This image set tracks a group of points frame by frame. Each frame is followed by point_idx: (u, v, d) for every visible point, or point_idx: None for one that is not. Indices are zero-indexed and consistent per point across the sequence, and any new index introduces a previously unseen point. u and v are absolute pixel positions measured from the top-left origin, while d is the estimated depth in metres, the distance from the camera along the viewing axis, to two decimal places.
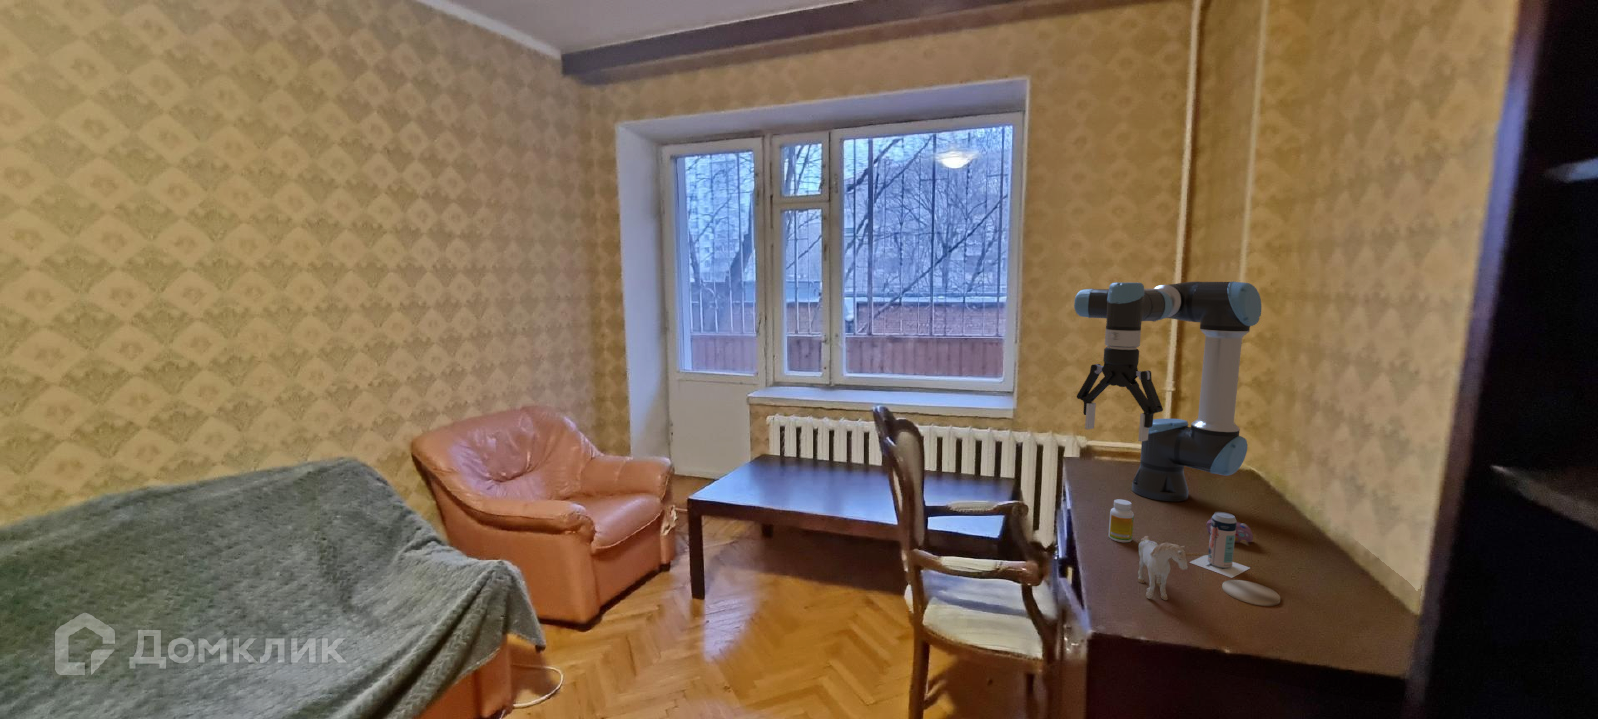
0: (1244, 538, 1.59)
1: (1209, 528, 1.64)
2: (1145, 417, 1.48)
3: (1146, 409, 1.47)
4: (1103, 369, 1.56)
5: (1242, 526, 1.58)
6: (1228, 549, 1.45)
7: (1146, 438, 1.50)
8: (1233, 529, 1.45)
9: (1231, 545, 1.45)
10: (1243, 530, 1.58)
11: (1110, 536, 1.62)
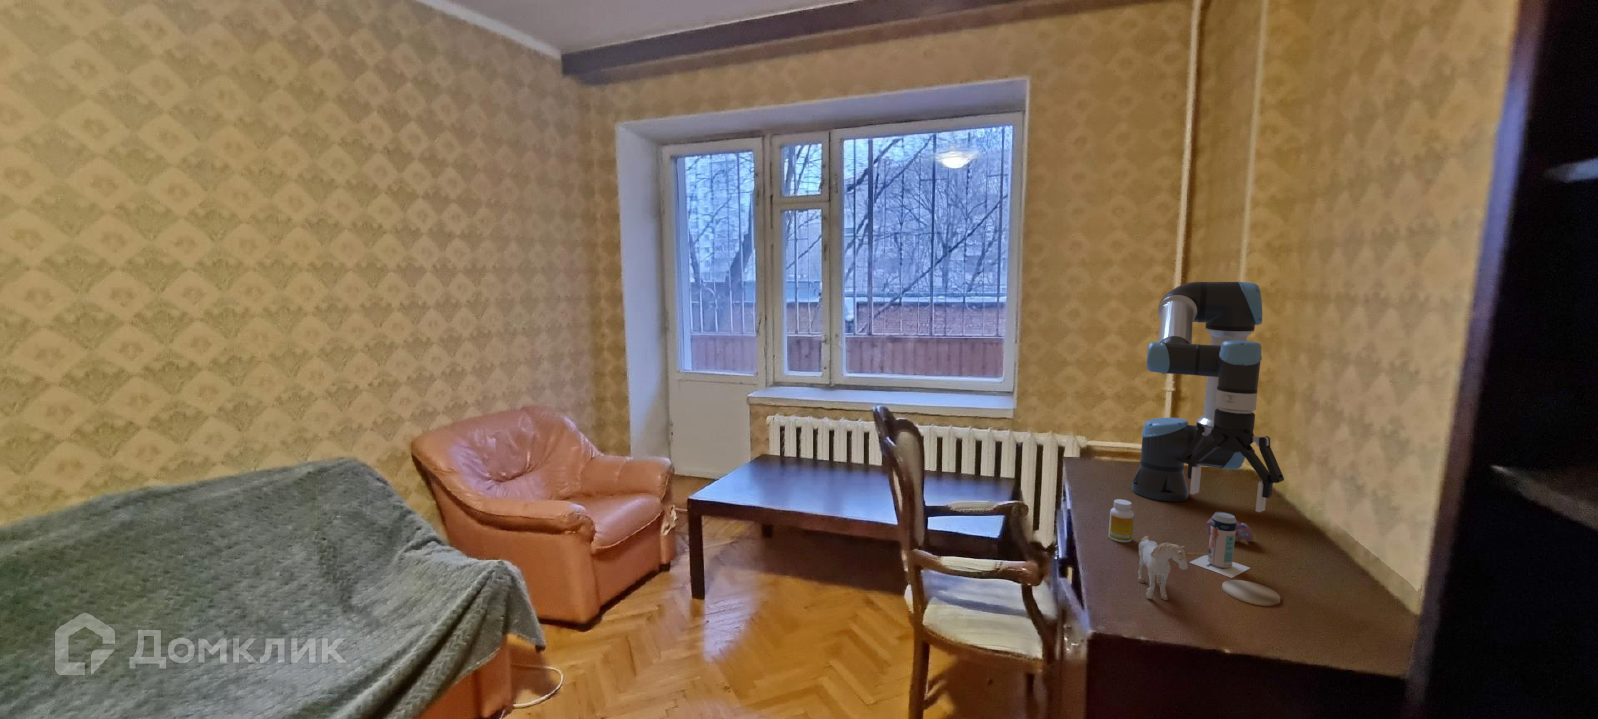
0: (1244, 538, 1.59)
1: (1209, 528, 1.64)
2: (1264, 486, 1.38)
3: (1265, 478, 1.38)
4: (1213, 432, 1.46)
5: (1242, 526, 1.59)
6: (1228, 549, 1.45)
7: (1263, 508, 1.40)
8: (1233, 529, 1.45)
9: (1231, 545, 1.45)
10: (1243, 530, 1.58)
11: (1110, 536, 1.62)
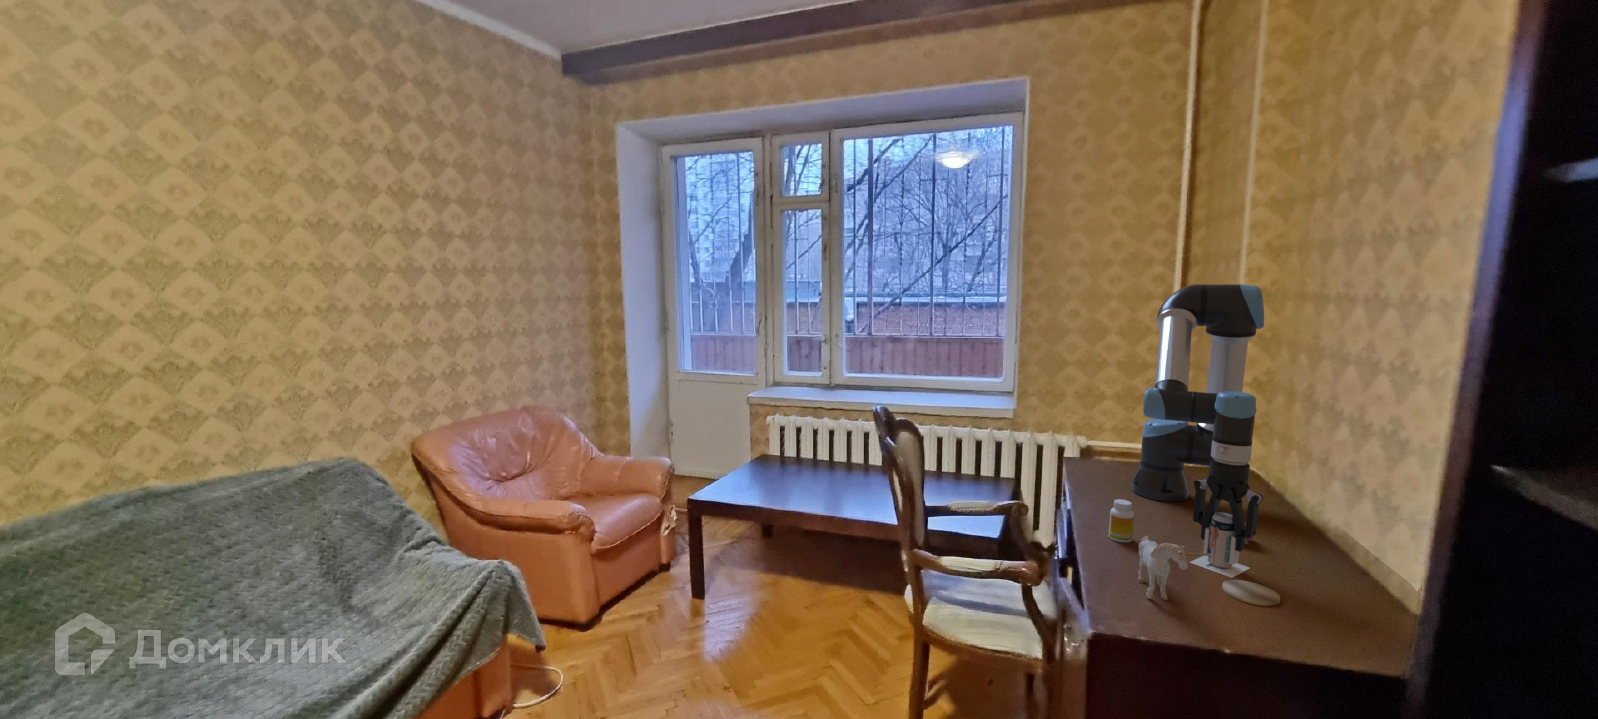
0: None
1: None
2: (1236, 540, 1.44)
3: (1239, 533, 1.43)
4: (1208, 482, 1.48)
5: None
6: (1228, 549, 1.45)
7: (1236, 560, 1.45)
8: (1233, 529, 1.45)
9: None
10: None
11: (1110, 536, 1.62)
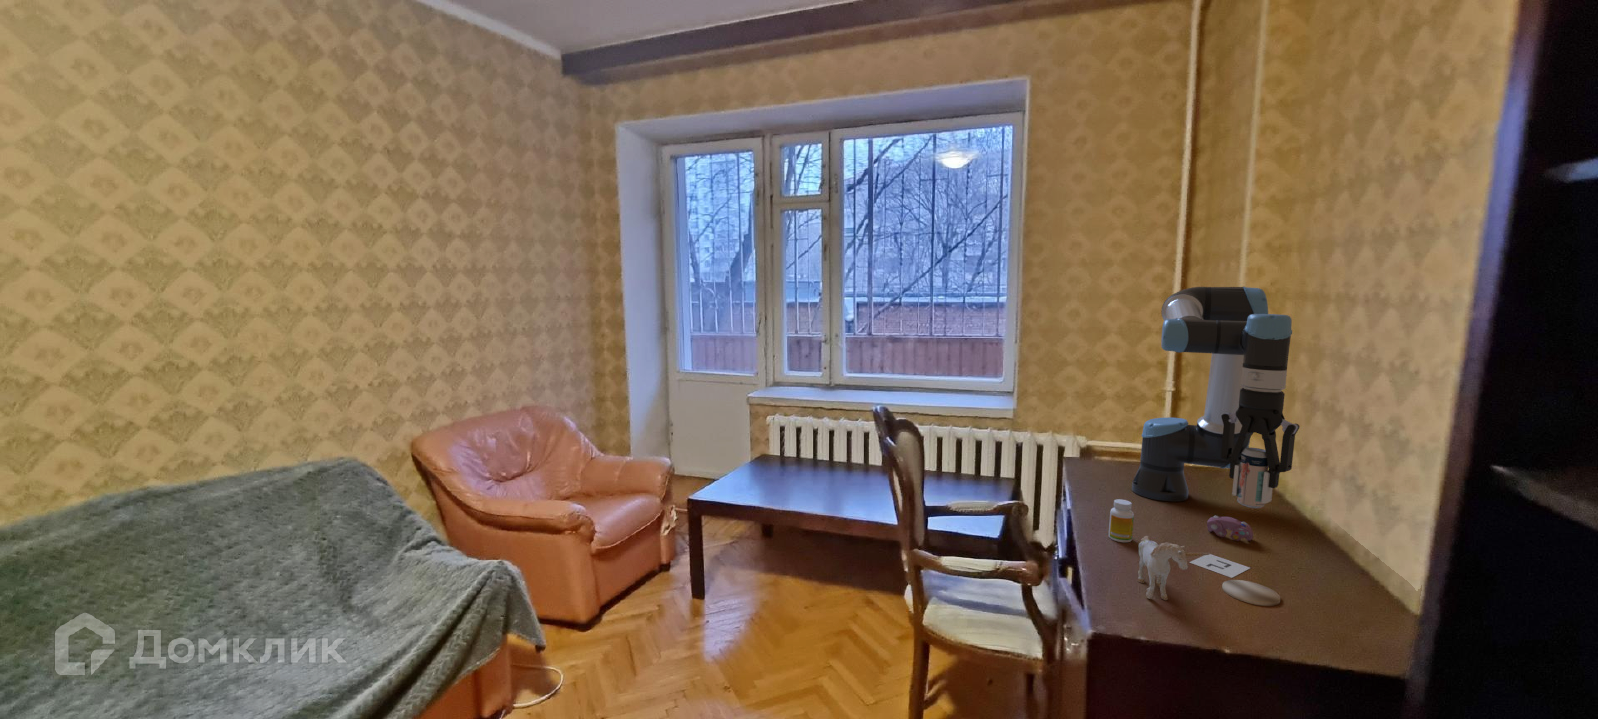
0: (1244, 536, 1.60)
1: (1210, 526, 1.65)
2: (1270, 476, 1.31)
3: (1273, 467, 1.30)
4: (1238, 414, 1.35)
5: (1242, 524, 1.59)
6: (1260, 486, 1.32)
7: (1270, 499, 1.33)
8: (1265, 465, 1.32)
9: None
10: (1244, 528, 1.59)
11: (1110, 536, 1.62)
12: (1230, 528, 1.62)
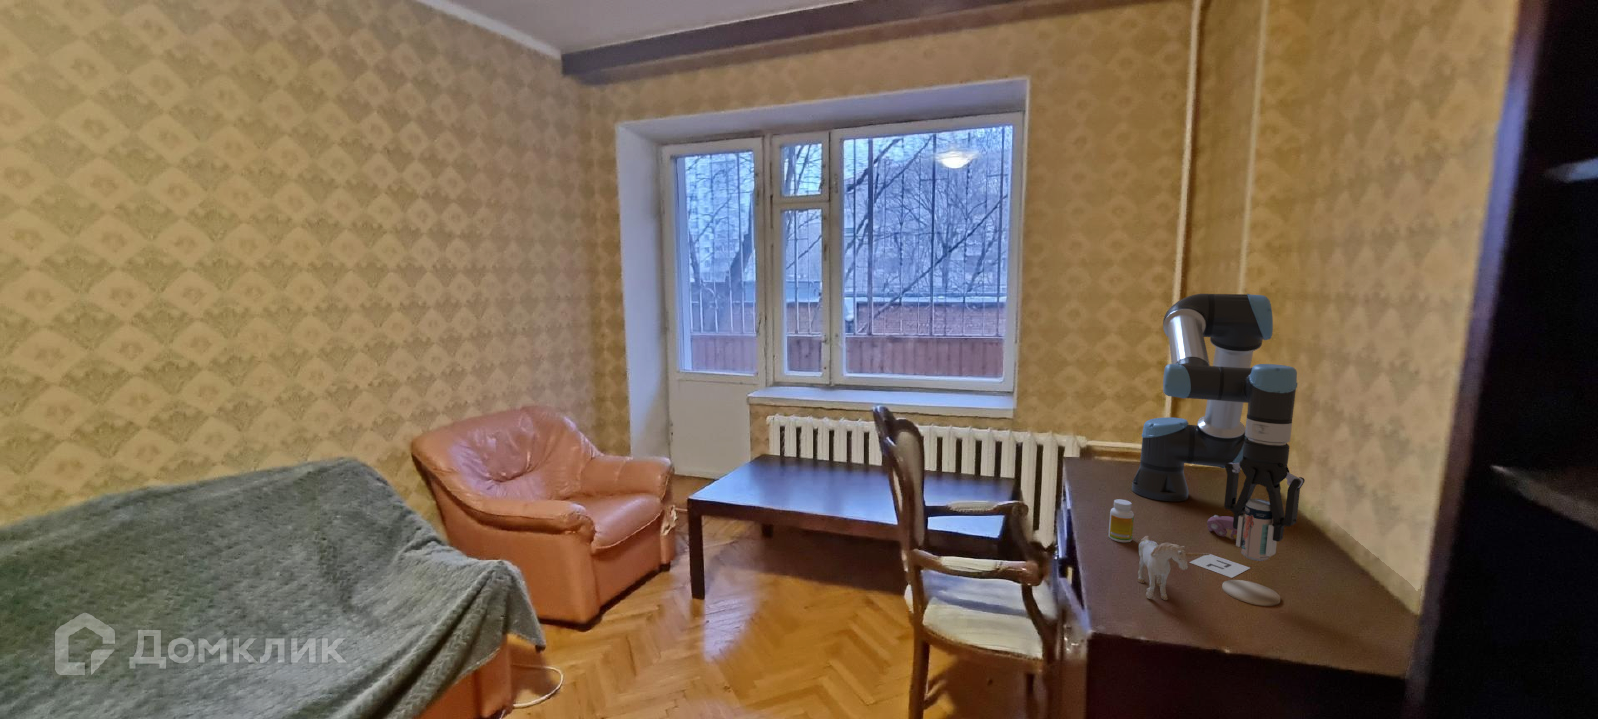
0: None
1: (1210, 526, 1.65)
2: (1274, 529, 1.30)
3: (1277, 521, 1.29)
4: (1242, 465, 1.34)
5: None
6: (1264, 539, 1.31)
7: (1274, 552, 1.31)
8: (1270, 518, 1.30)
9: None
10: None
11: (1110, 536, 1.62)
12: (1230, 527, 1.62)
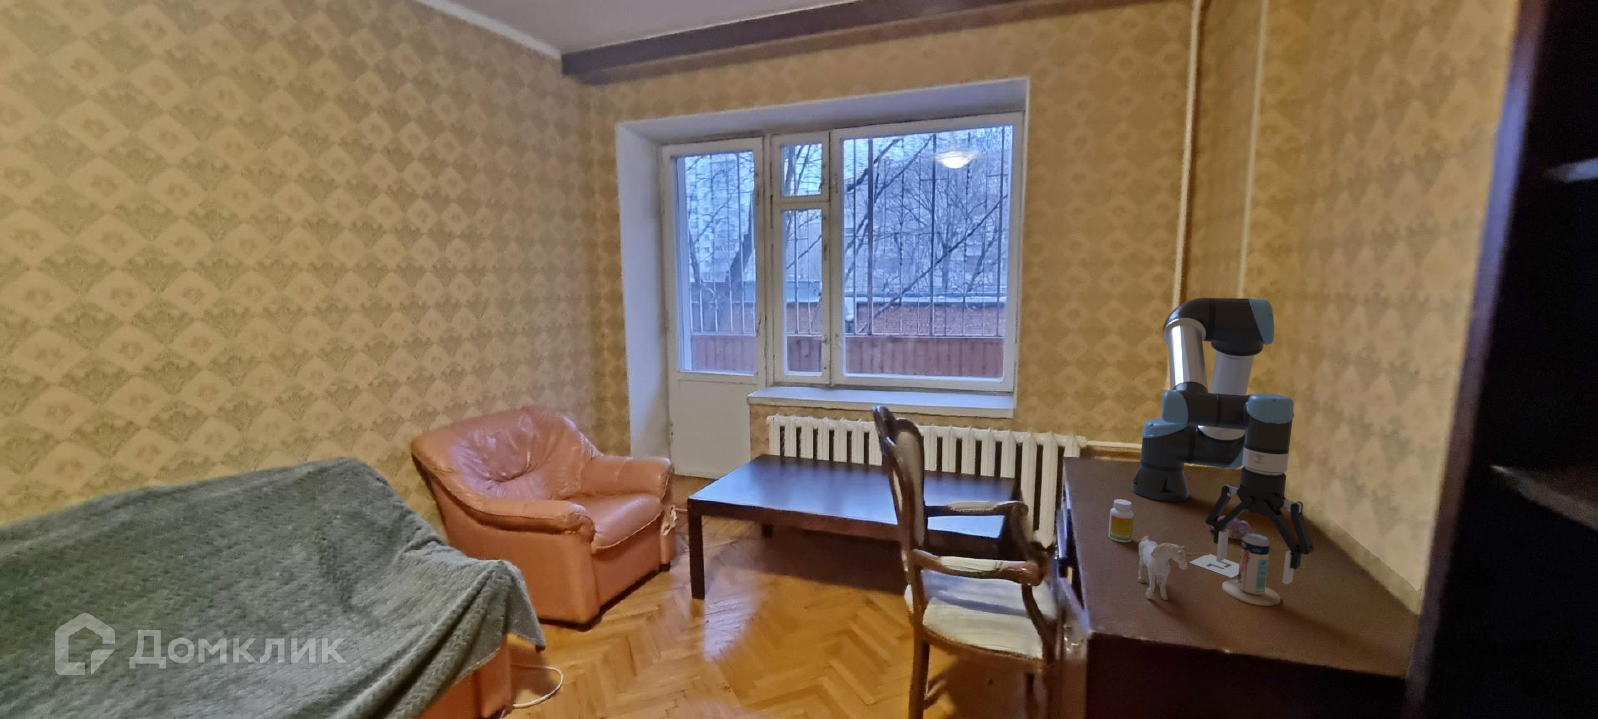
0: None
1: (1210, 525, 1.65)
2: (1292, 557, 1.27)
3: (1294, 548, 1.27)
4: (1239, 492, 1.34)
5: (1243, 523, 1.60)
6: (1260, 574, 1.32)
7: (1291, 579, 1.29)
8: (1266, 553, 1.31)
9: (1264, 570, 1.32)
10: (1244, 527, 1.60)
11: (1110, 536, 1.62)
12: (1230, 527, 1.62)
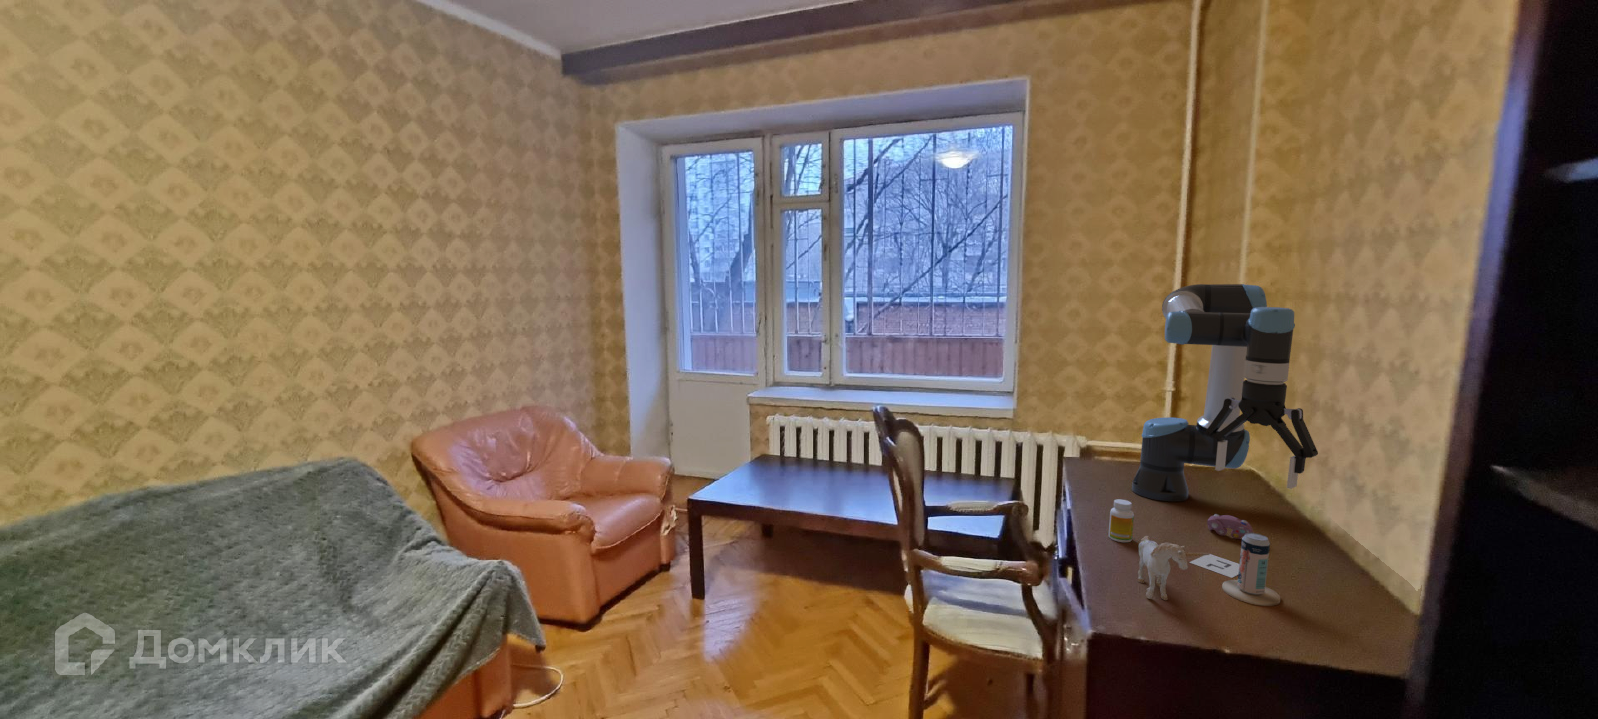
0: None
1: (1210, 525, 1.66)
2: (1296, 461, 1.31)
3: (1298, 453, 1.30)
4: (1240, 404, 1.38)
5: (1243, 523, 1.61)
6: (1260, 574, 1.32)
7: (1295, 484, 1.32)
8: (1266, 553, 1.31)
9: (1264, 570, 1.32)
10: (1244, 527, 1.60)
11: (1110, 536, 1.62)
12: (1230, 526, 1.63)
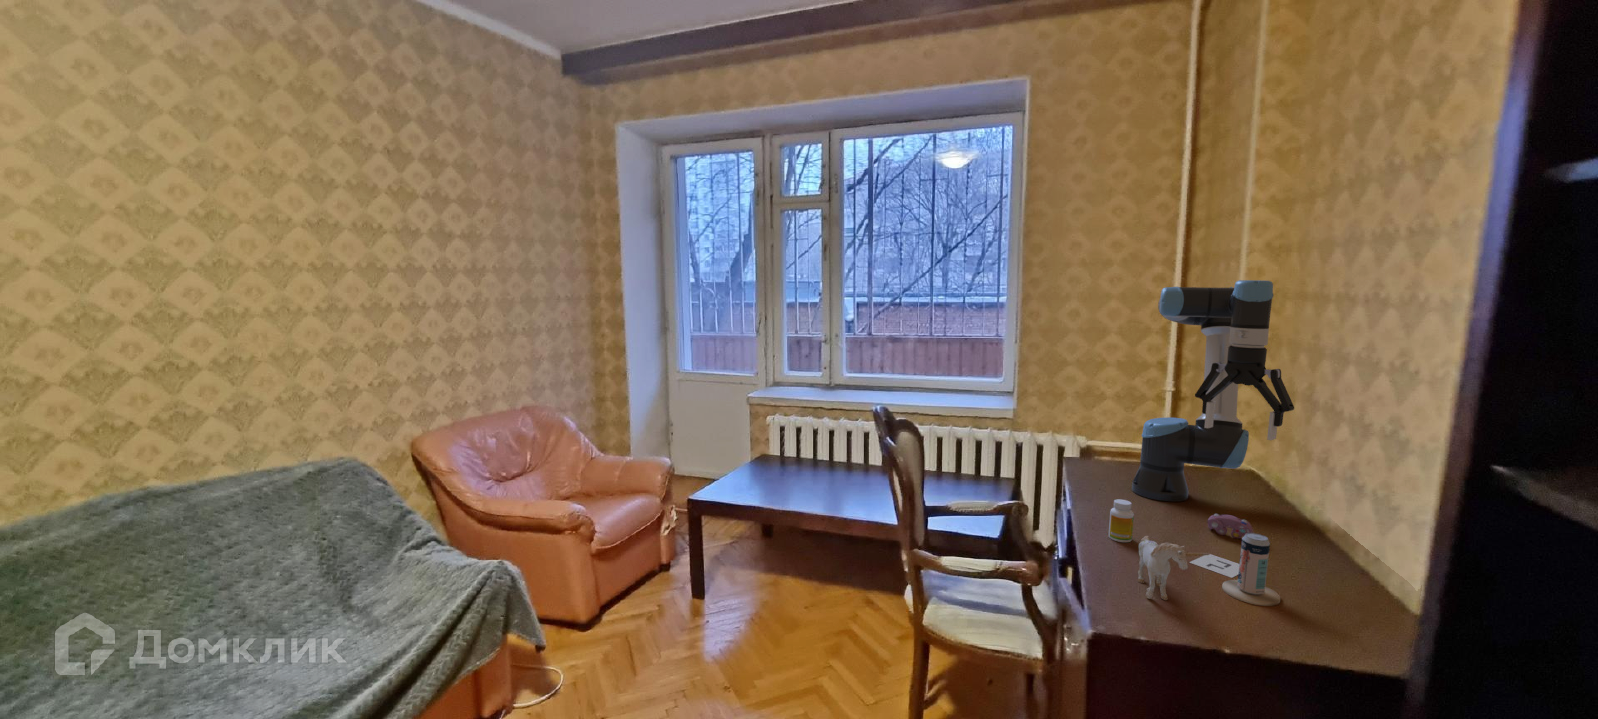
0: None
1: (1210, 524, 1.66)
2: (1275, 416, 1.47)
3: (1277, 408, 1.46)
4: (1226, 367, 1.55)
5: (1243, 522, 1.61)
6: (1260, 574, 1.32)
7: (1274, 437, 1.49)
8: (1266, 553, 1.31)
9: (1264, 570, 1.32)
10: (1244, 526, 1.60)
11: (1110, 536, 1.62)
12: (1230, 526, 1.63)
